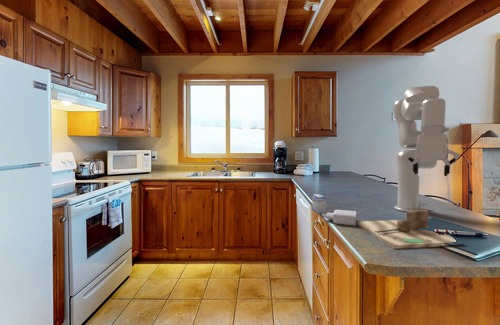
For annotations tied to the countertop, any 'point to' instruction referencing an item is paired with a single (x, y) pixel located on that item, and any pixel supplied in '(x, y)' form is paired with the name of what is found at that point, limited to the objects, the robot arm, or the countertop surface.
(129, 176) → the countertop surface
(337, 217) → the charger
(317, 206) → the medicine box
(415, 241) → the board
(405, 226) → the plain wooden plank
